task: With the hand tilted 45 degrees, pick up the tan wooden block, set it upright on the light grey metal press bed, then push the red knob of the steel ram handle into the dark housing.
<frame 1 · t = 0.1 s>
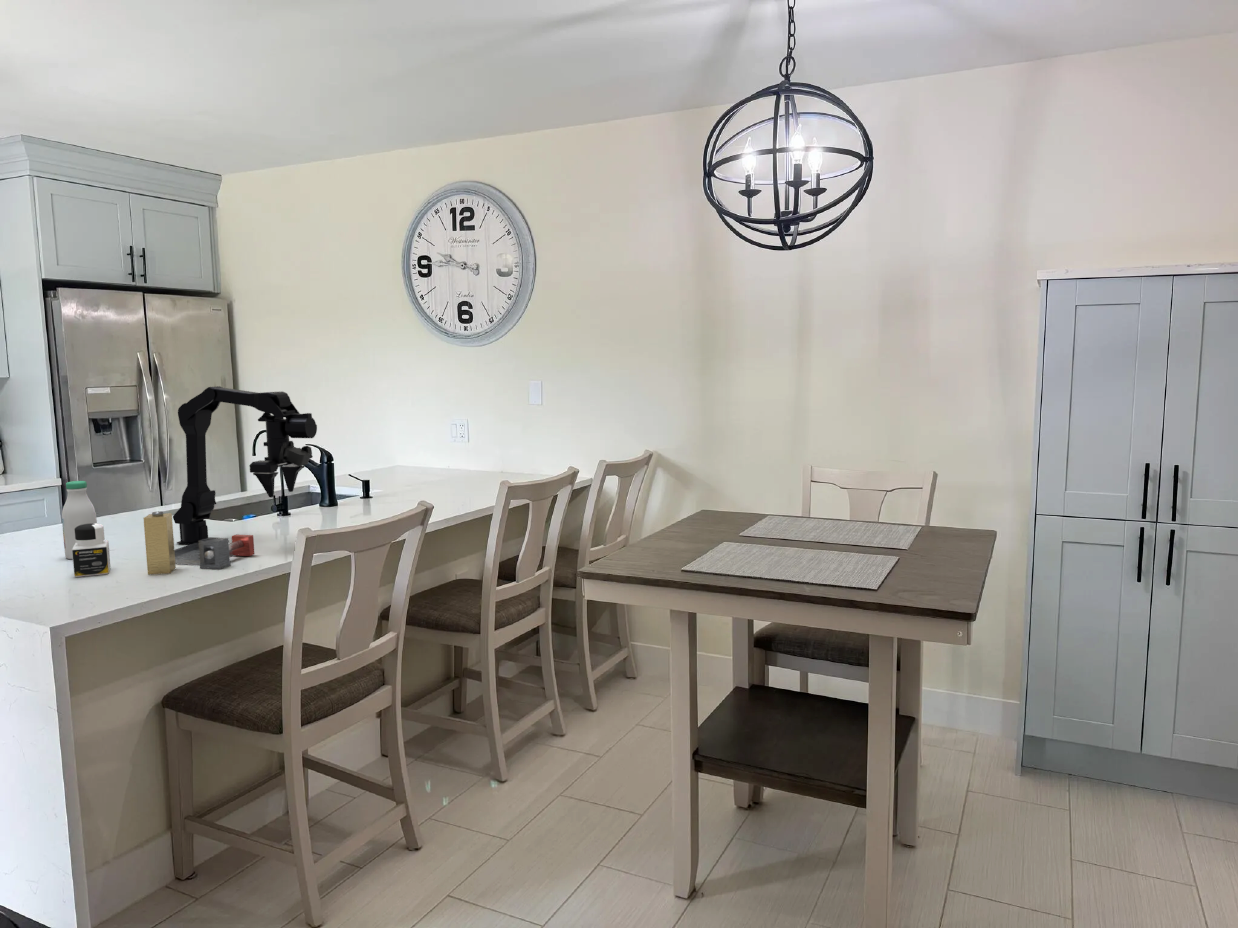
hand: (281, 494, 234), 15 cm above the countertop, tool pointing down, fingers open, 9 cm apart
ram handle: (227, 550, 219), point 3 cm above the countertop, slide at 0.0 cm
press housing: (215, 566, 214), on the countertop
press bed: (200, 558, 222), on the countertop
milk bottle: (82, 557, 225), on the countertop
medicine bottle: (93, 573, 209), on the countertop
tan wooden block: (162, 571, 210), on the countertop
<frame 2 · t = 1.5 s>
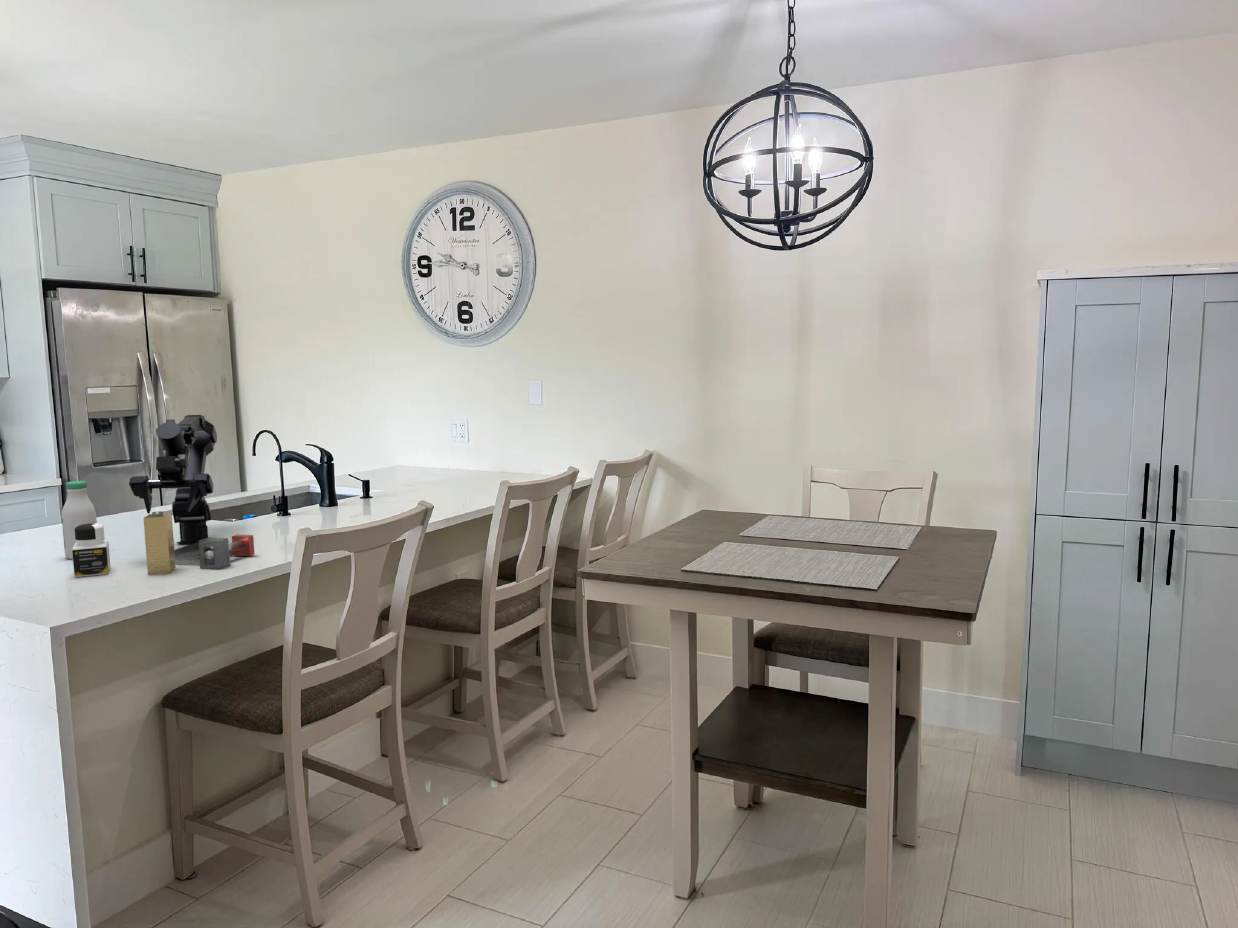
hand: (168, 511, 216), 13 cm above the countertop, tool tilted 45°, fingers open, 9 cm apart
nothing on the countertop moved.
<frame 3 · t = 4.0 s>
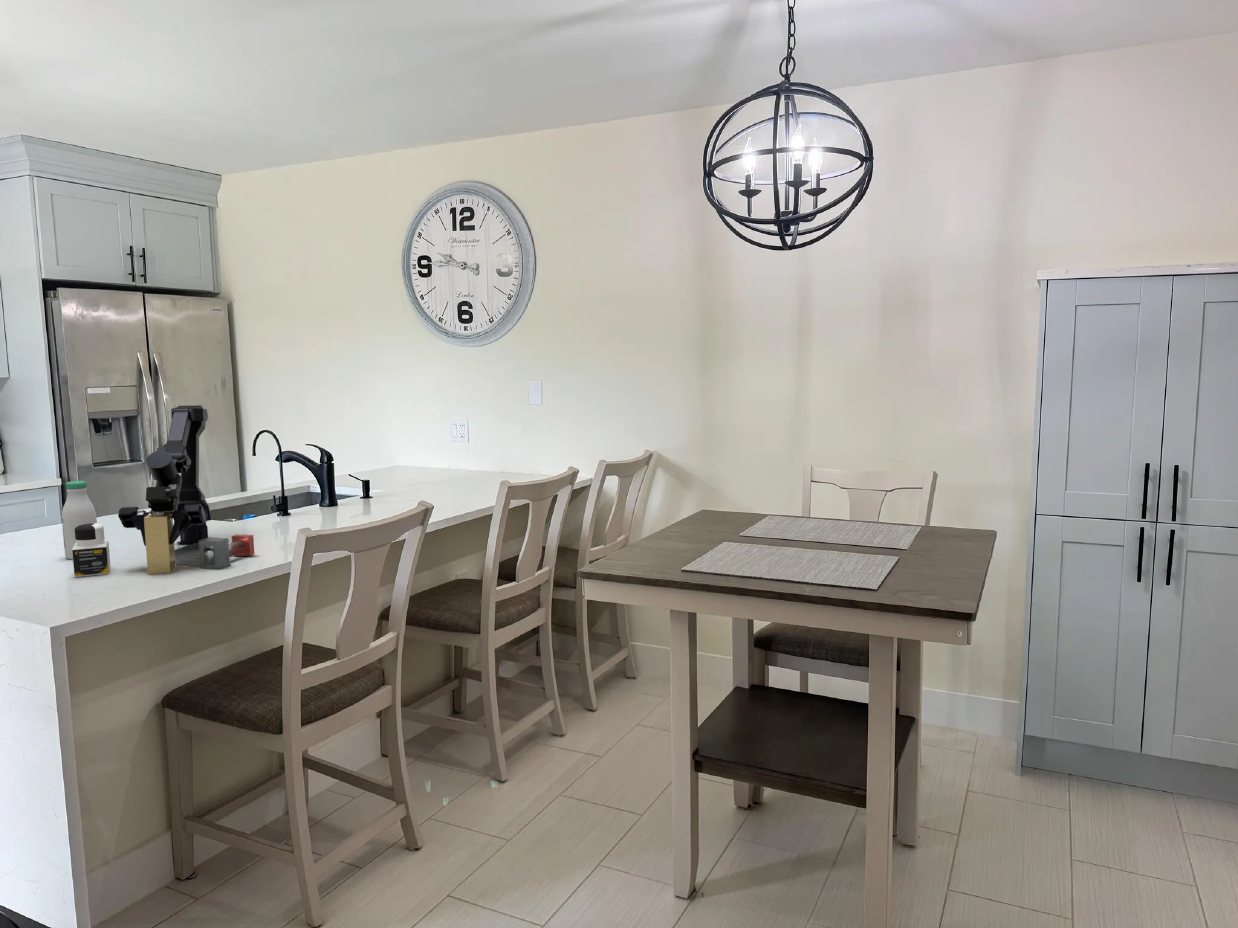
hand: (158, 544, 207), 7 cm above the countertop, tool tilted 45°, fingers closed on tan wooden block, 5 cm apart
tan wooden block: (161, 571, 210), on the countertop, touching gripper
everything else where it was.
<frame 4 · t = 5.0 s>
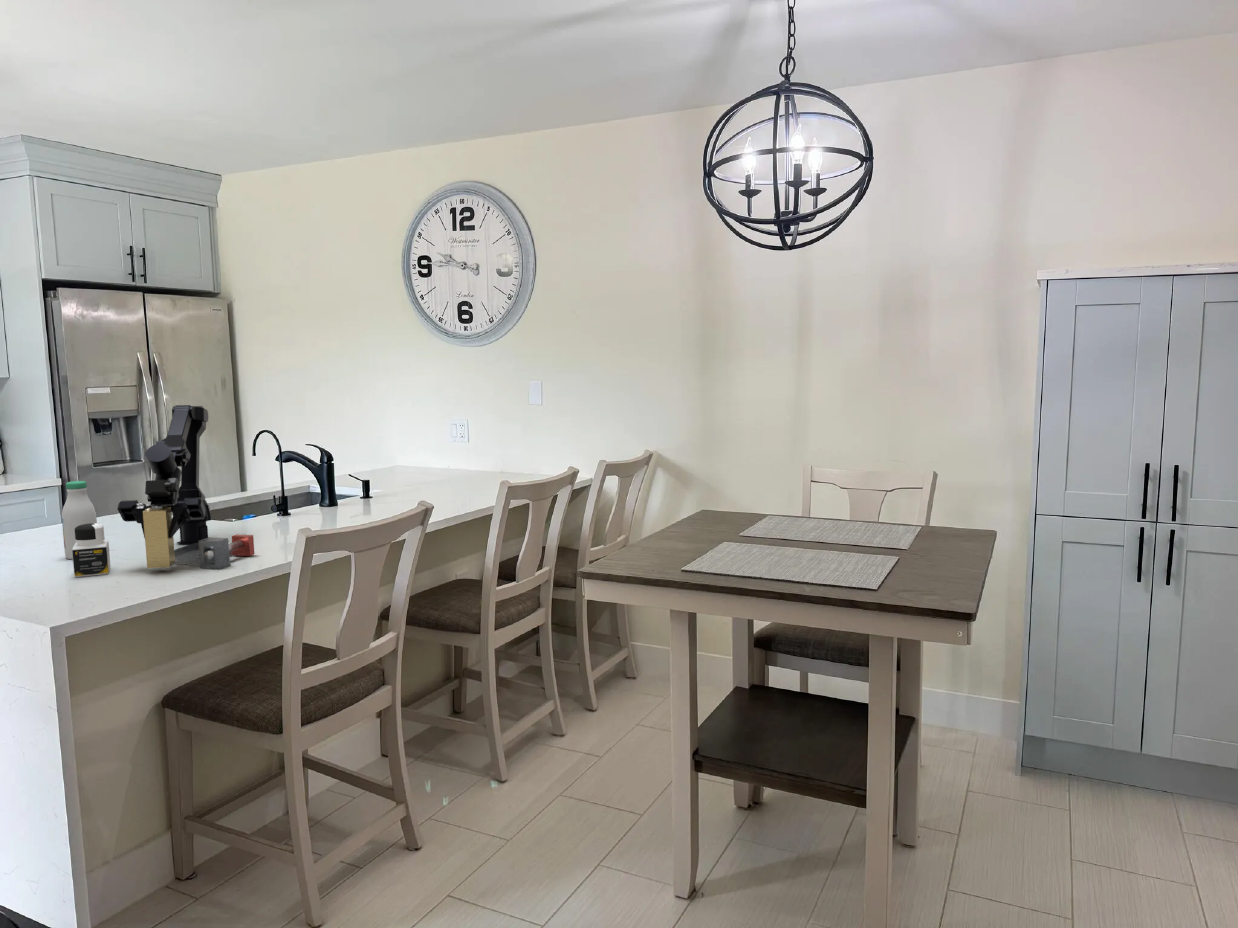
hand: (157, 537, 207), 9 cm above the countertop, tool tilted 45°, fingers closed on tan wooden block, 5 cm apart
tan wooden block: (161, 564, 209), point 2 cm above the countertop, touching gripper
everything else where it was.
when the fingers open (9 cm above the countertop, at t = 7.8 s): tan wooden block drops 1 cm, resting on press bed.
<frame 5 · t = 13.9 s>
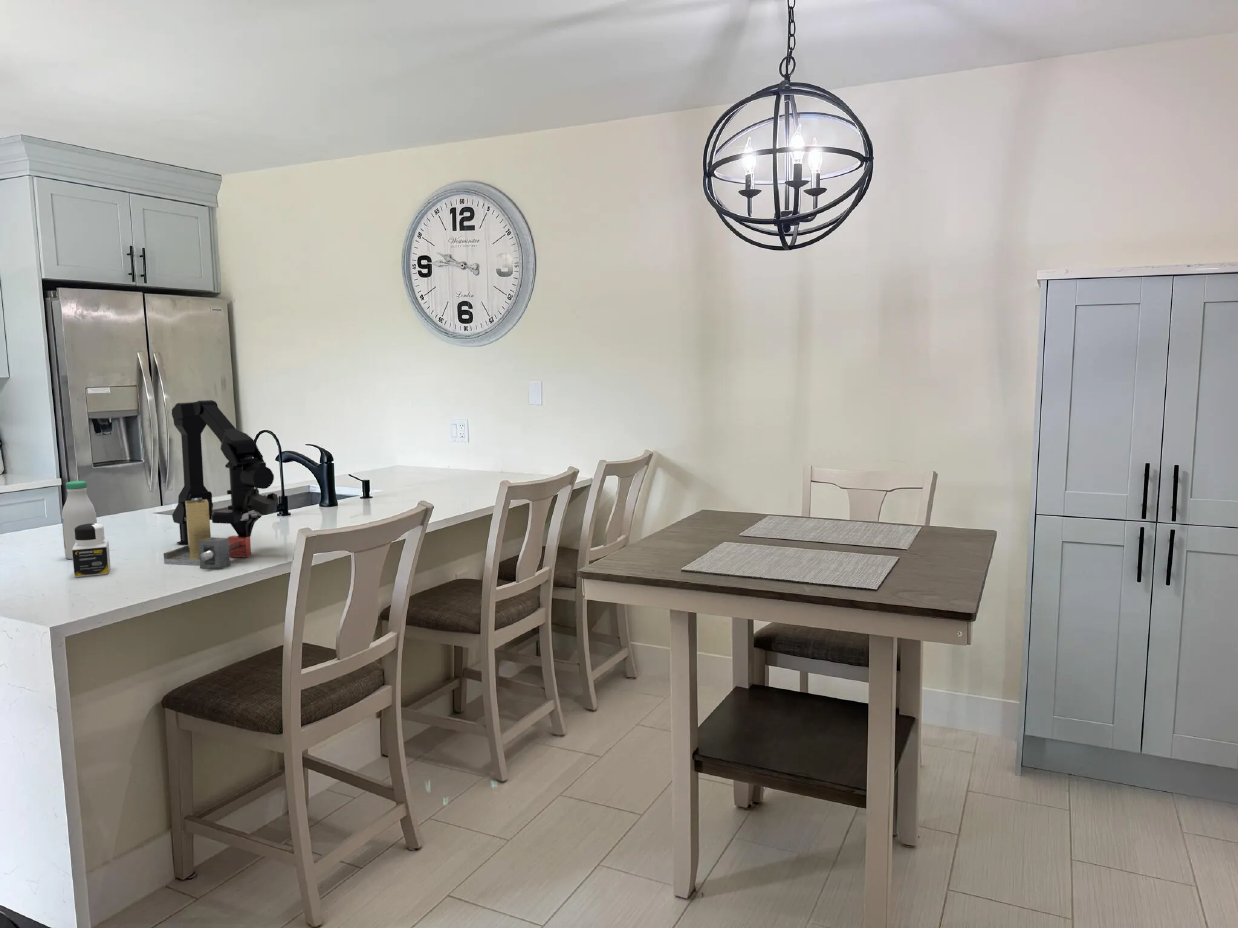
hand: (245, 543, 226), 3 cm above the countertop, tool pointing down, fingers closed
ram handle: (223, 552, 217), point 3 cm above the countertop, slide at 1.4 cm, touching gripper
tan wooden block: (200, 554, 222), point 1 cm above the countertop, touching press bed
everything else where it was.
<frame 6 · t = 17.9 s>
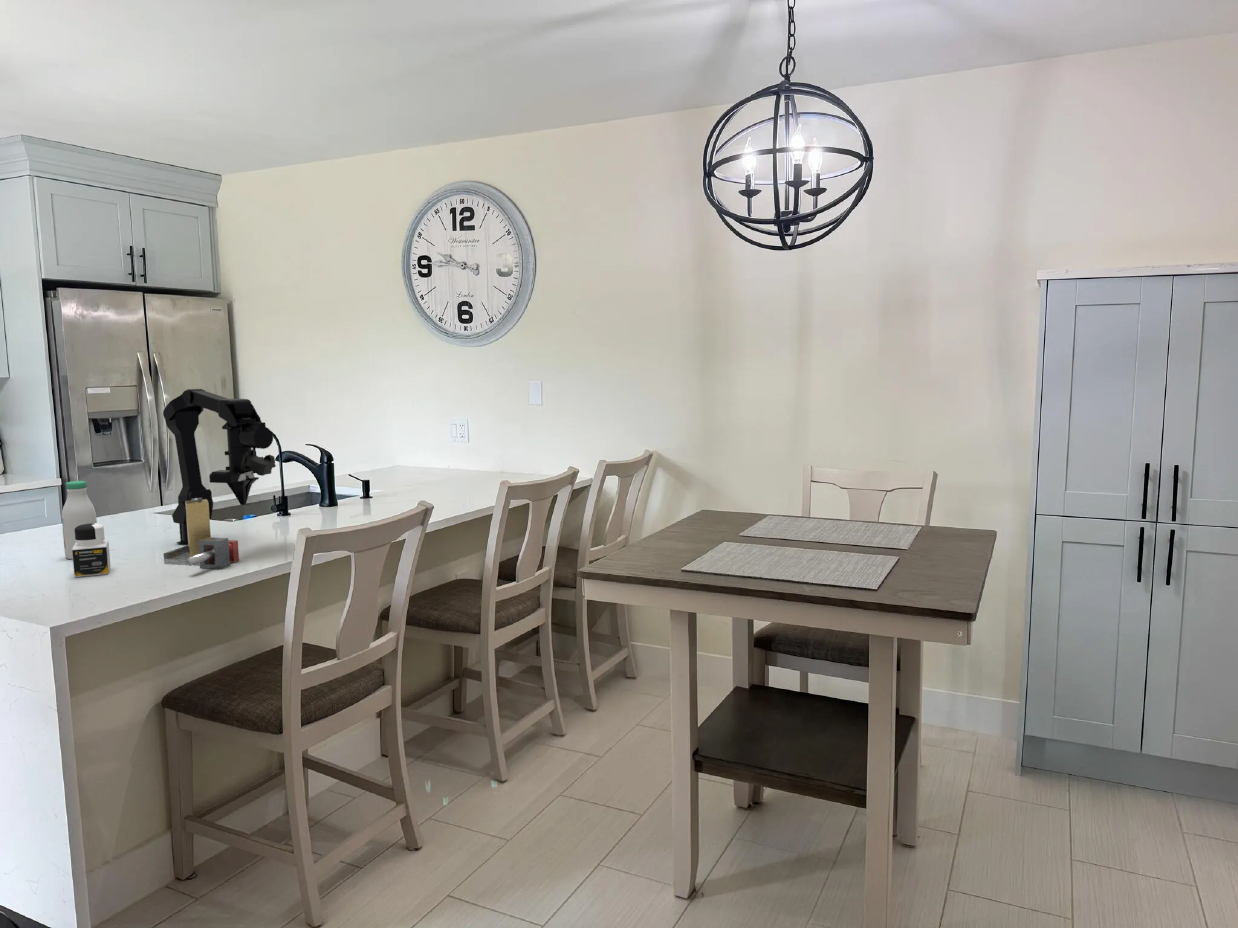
hand: (243, 504, 228), 13 cm above the countertop, tool pointing down, fingers closed
ram handle: (210, 556, 212), point 3 cm above the countertop, slide at 6.5 cm
everything else where it was.
at the end: tan wooden block 0.1 cm from the press bed (horizontally); tan wooden block tilted 0°; ram handle slide at 6.5 cm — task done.
